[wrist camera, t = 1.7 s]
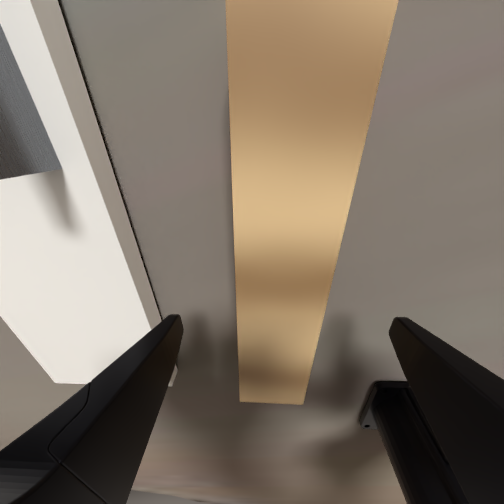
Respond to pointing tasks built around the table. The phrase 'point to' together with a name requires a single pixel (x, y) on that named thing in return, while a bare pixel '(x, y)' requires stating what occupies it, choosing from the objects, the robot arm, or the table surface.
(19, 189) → the bracket plate
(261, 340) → the oak rail
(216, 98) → the table surface
